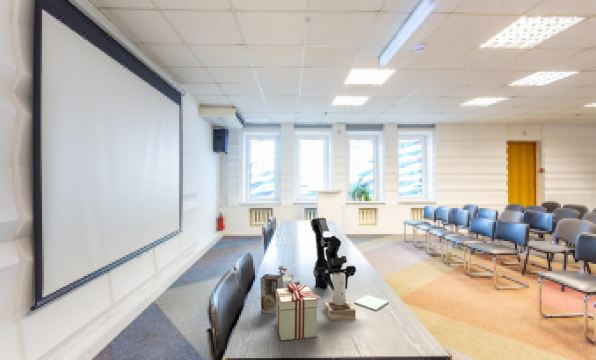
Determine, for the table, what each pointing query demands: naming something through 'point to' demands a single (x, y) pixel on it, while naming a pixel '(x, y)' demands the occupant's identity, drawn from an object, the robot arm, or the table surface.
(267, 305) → the coffee box
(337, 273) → the white tall cylinder
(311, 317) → the gift box
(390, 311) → the table surface
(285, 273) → the gun
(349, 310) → the collar
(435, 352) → the table surface
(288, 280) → the white cup
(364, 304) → the pad
